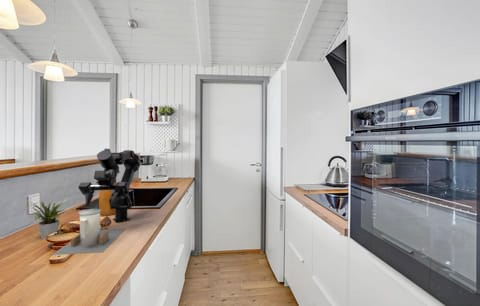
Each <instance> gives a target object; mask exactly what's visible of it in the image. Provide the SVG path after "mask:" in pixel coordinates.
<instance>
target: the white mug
mask: <svg viewBox="0 0 480 306" xmlns="http://www.w3.org/2000/svg"><path fill="white" fill-rule="evenodd" d="M100 212H101V210H100V209H99V208H87V209H82V210H80V211H78V215H79V233H80V245H81V246H84V247H87V246H93V245H96V244H98V243H99V237H100V230H101V214H100Z"/></svg>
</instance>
